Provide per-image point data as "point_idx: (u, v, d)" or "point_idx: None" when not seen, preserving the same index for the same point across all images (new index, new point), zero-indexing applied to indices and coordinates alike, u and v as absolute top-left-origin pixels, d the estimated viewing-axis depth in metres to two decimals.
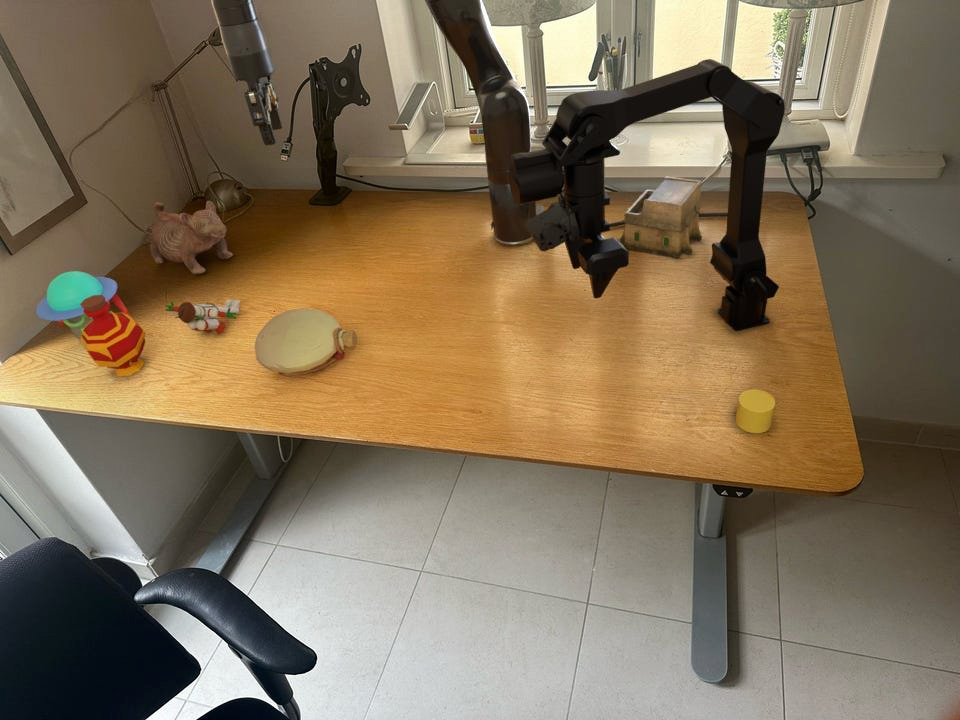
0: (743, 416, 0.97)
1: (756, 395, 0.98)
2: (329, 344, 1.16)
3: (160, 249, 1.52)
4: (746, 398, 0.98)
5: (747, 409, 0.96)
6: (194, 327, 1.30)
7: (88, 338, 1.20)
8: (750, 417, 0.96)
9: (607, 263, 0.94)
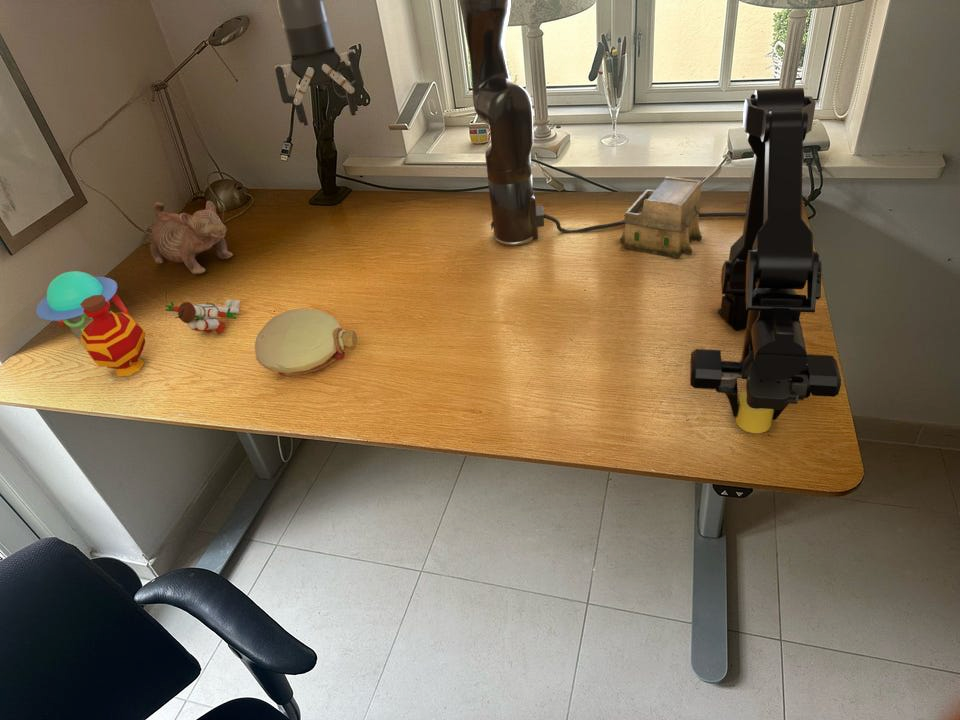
0: (743, 416, 0.97)
1: None
2: (329, 344, 1.16)
3: (160, 249, 1.52)
4: None
5: (747, 409, 0.96)
6: (194, 327, 1.30)
7: (88, 338, 1.20)
8: (750, 417, 0.96)
9: None
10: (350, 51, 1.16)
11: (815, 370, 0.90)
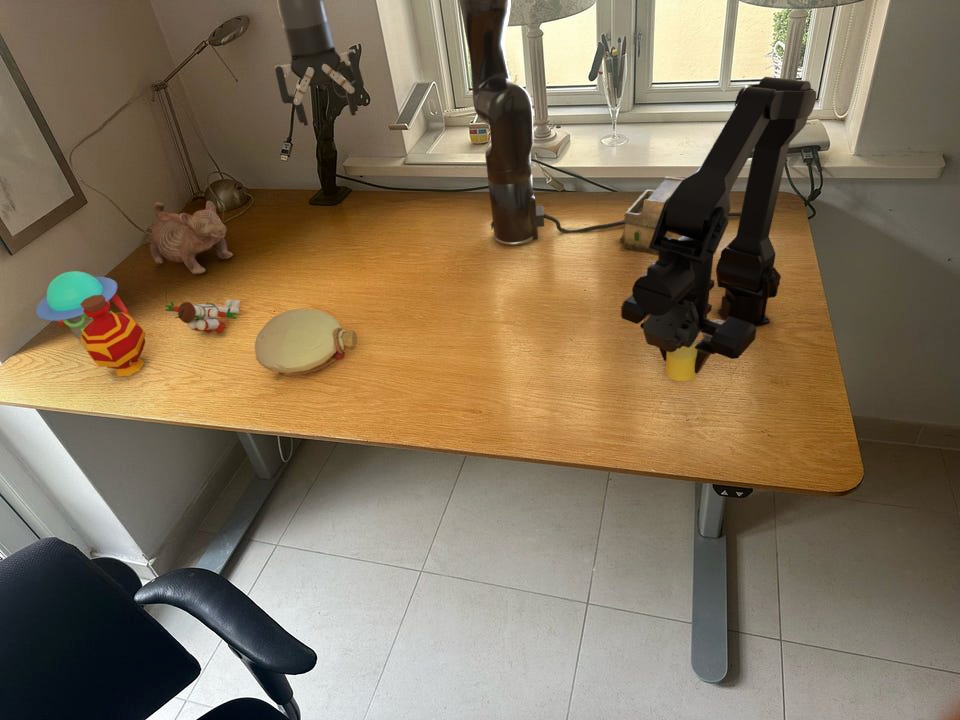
0: (666, 360, 1.04)
1: None
2: (329, 344, 1.16)
3: (160, 249, 1.52)
4: None
5: (668, 353, 1.02)
6: (194, 327, 1.30)
7: (88, 338, 1.20)
8: (670, 362, 1.03)
9: (746, 342, 0.94)
10: (350, 51, 1.16)
11: (723, 329, 0.94)
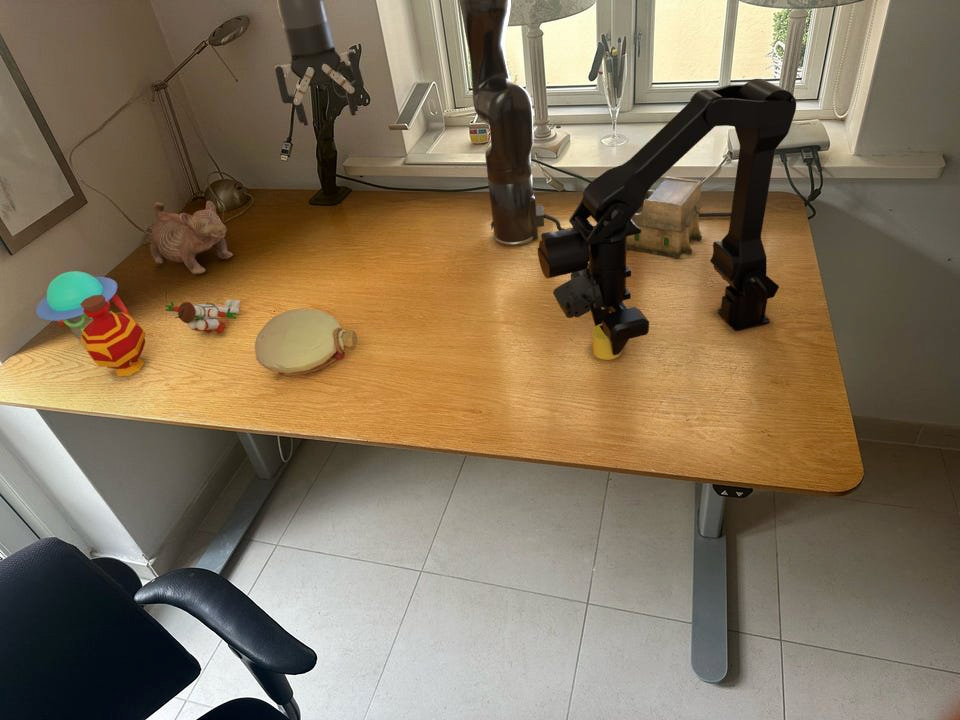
0: None
1: None
2: (329, 344, 1.16)
3: (160, 249, 1.52)
4: None
5: (593, 329, 1.15)
6: (194, 327, 1.30)
7: (88, 338, 1.20)
8: (592, 337, 1.15)
9: (629, 332, 1.02)
10: (350, 51, 1.16)
11: (616, 314, 1.04)
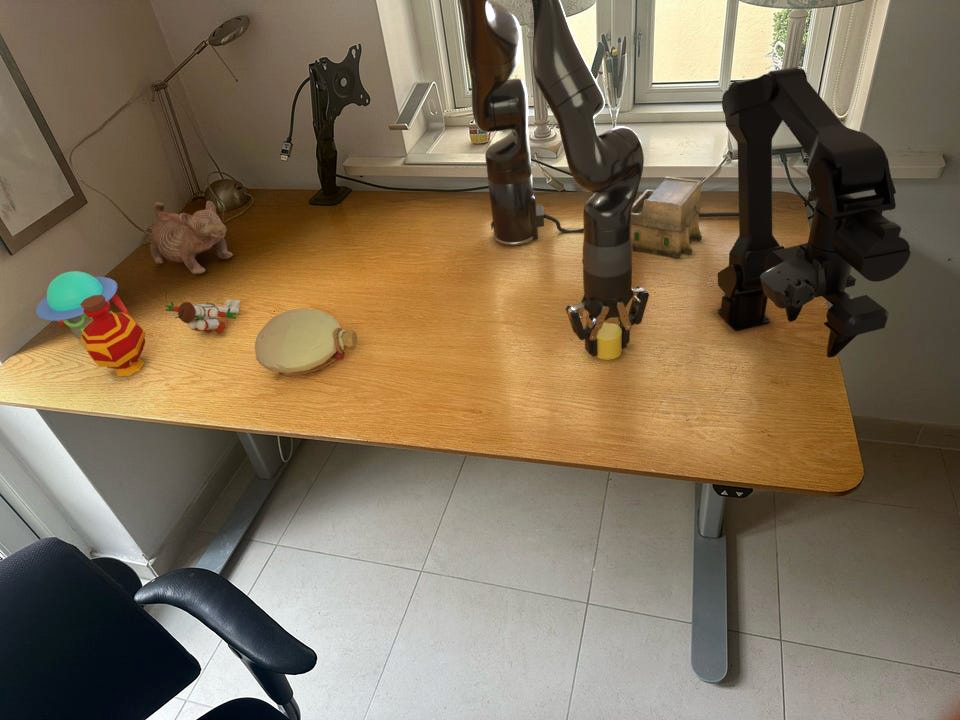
0: None
1: (612, 329, 1.14)
2: (329, 344, 1.16)
3: (160, 249, 1.52)
4: (605, 326, 1.15)
5: None
6: (194, 327, 1.30)
7: (88, 338, 1.20)
8: None
9: (866, 325, 0.85)
10: (644, 290, 1.10)
11: (846, 304, 0.87)
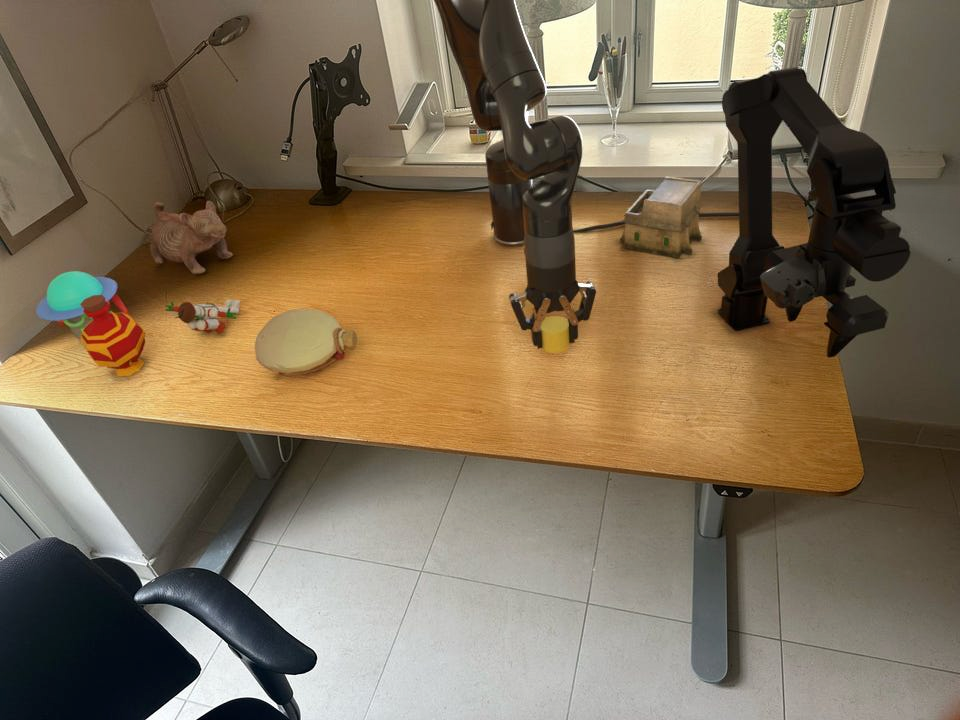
0: None
1: (560, 323, 1.12)
2: (329, 344, 1.16)
3: (160, 249, 1.52)
4: (554, 319, 1.13)
5: None
6: (194, 327, 1.30)
7: (88, 338, 1.20)
8: None
9: (866, 325, 0.85)
10: (592, 286, 1.07)
11: (846, 304, 0.87)
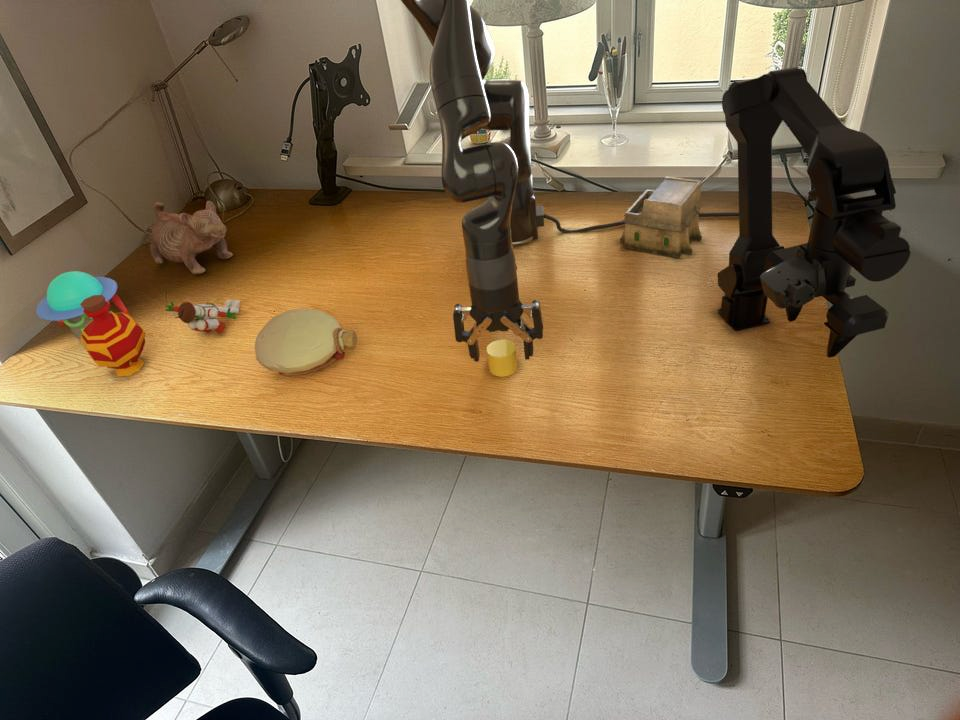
0: None
1: (506, 348, 1.13)
2: (329, 344, 1.16)
3: (160, 249, 1.52)
4: (503, 343, 1.14)
5: (490, 343, 1.15)
6: (194, 327, 1.30)
7: (88, 338, 1.20)
8: None
9: (866, 325, 0.85)
10: (535, 306, 1.07)
11: (846, 304, 0.87)
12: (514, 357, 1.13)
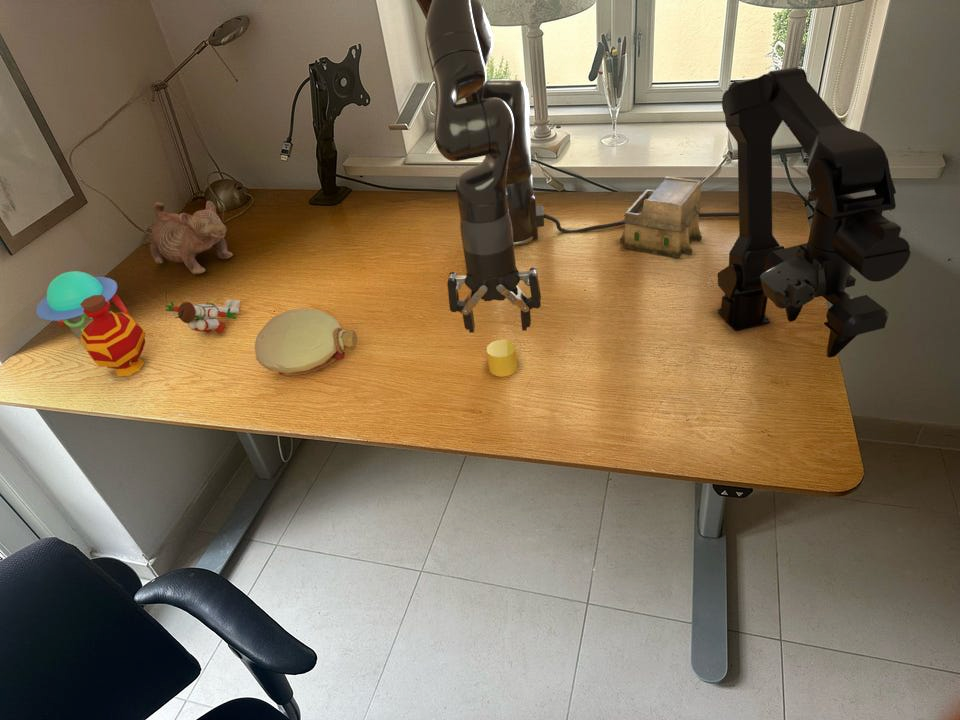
0: None
1: (506, 348, 1.13)
2: (329, 344, 1.16)
3: (160, 249, 1.52)
4: (503, 343, 1.14)
5: (490, 343, 1.15)
6: (194, 327, 1.30)
7: (88, 338, 1.20)
8: None
9: (866, 325, 0.85)
10: (532, 273, 1.03)
11: (846, 304, 0.87)
12: (514, 357, 1.13)
